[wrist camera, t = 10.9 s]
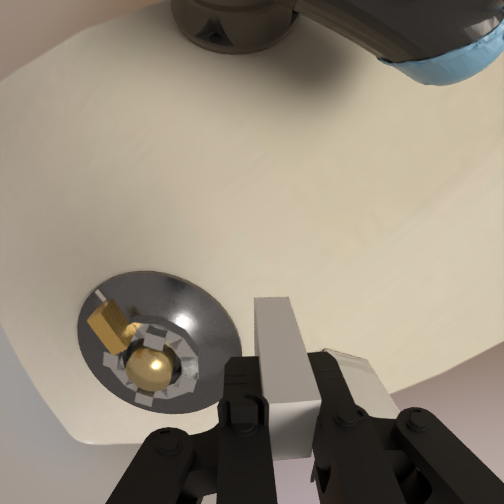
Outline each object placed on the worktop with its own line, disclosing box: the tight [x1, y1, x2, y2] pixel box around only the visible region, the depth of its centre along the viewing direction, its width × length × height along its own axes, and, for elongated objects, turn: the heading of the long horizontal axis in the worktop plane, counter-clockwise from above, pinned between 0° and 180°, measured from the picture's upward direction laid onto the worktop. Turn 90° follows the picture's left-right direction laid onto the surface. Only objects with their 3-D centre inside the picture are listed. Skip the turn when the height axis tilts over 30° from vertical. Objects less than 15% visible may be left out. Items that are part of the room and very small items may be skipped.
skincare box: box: [324, 349, 400, 419], centre depth 37 cm, size 8×7×16 cm
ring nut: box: [87, 298, 200, 407], centre depth 38 cm, size 17×13×6 cm
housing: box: [78, 271, 242, 414], centre depth 40 cm, size 24×24×6 cm
